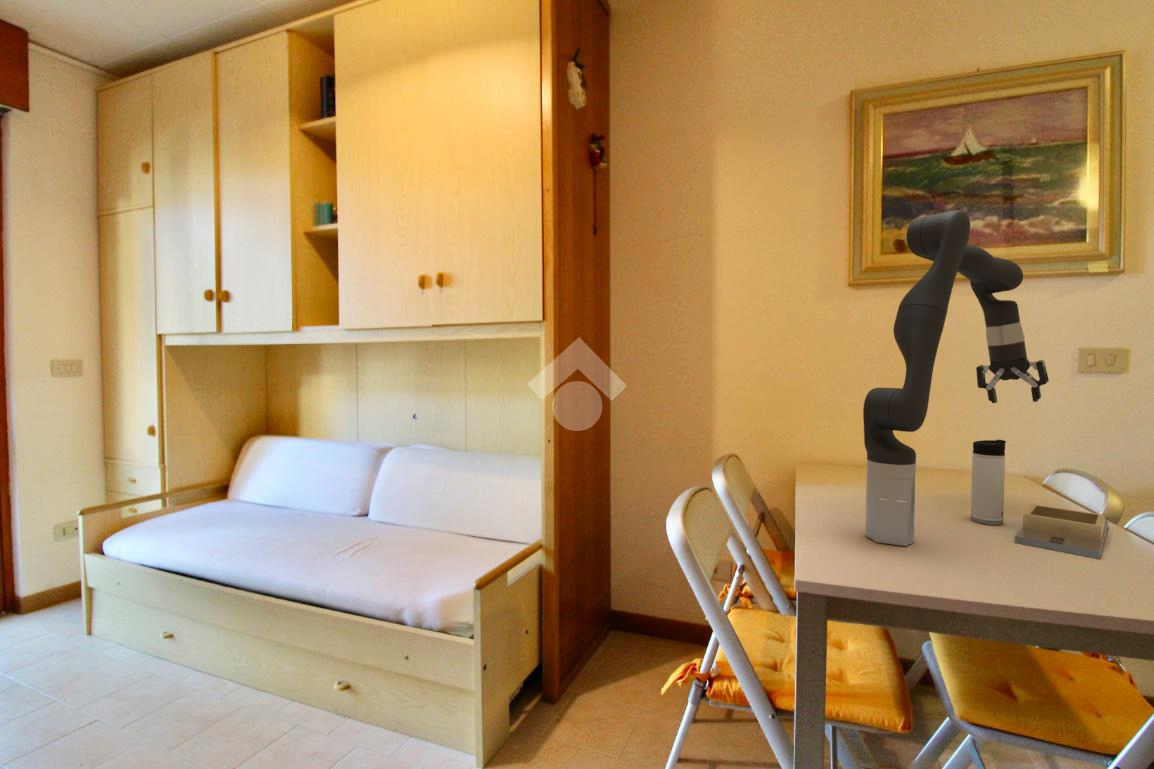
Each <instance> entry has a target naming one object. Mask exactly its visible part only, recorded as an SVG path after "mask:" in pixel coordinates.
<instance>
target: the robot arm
mask: <svg viewBox="0 0 1154 769" xmlns="http://www.w3.org/2000/svg"><path fill="white" fill-rule="evenodd" d="M906 230H907V231H906V235H905V237H906V239H905V240H906V244H907V248H908V249H909V251H910V252H911V253H912V254H913V255H915V256H916V257H919V258H921V259H925V260H928V261H931V262H932V264H931V266H930V267H929V268H928V270H927V272H925V274H924V275H923V276H922V277H921V278H920V279H919V281H917V282H916V283H915V284H914V285H913V287H911V289H910V290H908V292H907V293H906V294H905V295H904V297H903V298H902V299H901V301H900V303H899V305H898V308H897V311H896V312H897V313H896V316H895V320H894V323H893V336H894V340H895V342H896V345H897V346H898V347H897V348H898V349H899V351H900V353H901V355H902V357H903V359H904V363H905V369H906V370H905V378H904V383H903V386H902V387H874V388H872V389H871V390H869V391H868V392H867V394H866V395H865V399H864V401H863V409H862V410H863V411H862V414H863V418H862V419H863V442H864V448H865V450H866V483H865V487H866V488H865V489H866V492H865V494H866V495H865V536H866V537H867V538H868V539H870V540H872V541H873V542H874V543H881V544H887V545H895V546H903V547H908V546H909V545H913V543H915V512H916V510H915V509H916V508H915V507H916V506H915V505H916V504H915V503H916V469H917V468H916V465H917V464H916V463H917V454H916V451H915V449H914V448H912V447H911V446H909V445H907V444H905V443H903V442H901V441H900V440H899V439H898V438H897V437H896V435H895V434H894V431H895V432H896V431H897V432H907V433H914V432H916V431H918V430H920V428H921V427H922V426H923V423H924V422H925V420H926V416H927V414H928V409H929V401H930V395H931V394H930V393H931V388H932V387H931V386H932V380H933V372H934V367H935V366H934V365H935V363H936V358H937V357H936V356H937V353H938V349H939V346H940V341H941V337H942V334H943V332H944V331H943V330H944V327H945V323H946V318H947V314H948V310H949V304H950V299H951V295H952V292H953V288H954V284H955V280H956V277H957V274H958V273H959V274H960V275H961V276H964V278H966V279H967V280H969V284H970V288H971V290H972V292H973V294H974V296H975V297H976V300H978V303H979V305H980V307H981V309H982V313H983V317H984V323H985V334H986V335H985V337H986V344H987V349H988V350H987V352H988V356H989V362H990V364H989V365H983V364H979V365H978V366H977V367H976V368H975V369H976V372H975V373H976V381H977V382H976V383H977V387H978V388H979V389H985V390H986V392H987V398H988V401H989V402H991V404H997V403H998V398H997V397H998V396H997V391H996V388H995V386H996V385H997V383H998V382H999V381H1000V380H1001V381H1010V380H1015V381H1016V380H1019V379H1021V380H1022V381H1023V382H1026V383H1027V384H1028V385H1030V386H1031V387H1030V389H1031V390H1030V391H1031V398H1032V402H1033V403H1037V402H1039V400H1040V399H1041V397H1042V393H1041V386H1044V385H1046V384H1048V383H1049V381H1050V380H1049V376H1048V370H1047V367H1046V362H1045V360H1044V359H1039V360H1037V361H1035V360H1034V361H1029V359H1028V355H1027V349H1026V343H1025V334H1024V330H1023V327H1022V323H1021V319H1020V312H1019V305H1018V303H1017V301H1015V300H1010V299H1009V300H1007V299H1003V300H1002V299H998V298H997V297H995V296H994V295H993V294H997V293H998V294H999V293H1002V292H1003V293H1004V292H1009V291H1012V290H1015V289H1017V288H1019V286H1021V284H1022V282H1023V280H1024V272H1023V270H1022V268H1021V267H1020V265H1018V264H1017V263H1016V262H1014V261H1011V260H1009V259H1005V258H1002V257H996V256H993V255H992V253H990V252H988V251H986V250H985V249H984V248H982V247H980V246H976V245H974V244H973V245H972V244H968V243H969V240H970V236H971V235H970V233H971V221H970V217H969V215H968V213H967V212H966V211H963V210H960V209H957V210H948V211H944V212H941V213H935V214H931V215H930V214H929V215H925V216H921V217H919V218H916V219H915V220H913V221H912V222H910V223H909V225H908V227H907V229H906ZM1031 367H1032V368H1033V369H1034V370H1035V371H1037V374H1038V378H1039V380H1037V378H1035V377H1034V376H1033V375H1032V374H1031V373H1030V372H1029V369H1030V368H1031ZM988 370H989V371H990V372H991V373H992V374H993V375H994V376H993V377H992V378H991V379H990V381H989V382H986V374H987V373H988Z"/></svg>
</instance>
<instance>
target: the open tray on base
mask: <svg viewBox="0 0 1154 769" xmlns="http://www.w3.org/2000/svg"><path fill="white" fill-rule="evenodd" d="M1022 515H1023V519H1022V520H1023V521H1022V526H1021V527H1020V528H1019V530H1018V531H1017V532H1016V534H1015V535H1014V544H1020V545H1025V546H1031V547H1035V548H1040V547H1041V548H1040V549H1045V548H1047V549H1046V550H1050V549H1053V550H1052V551H1055V550H1058V551H1057V552H1060V551H1063V552H1062V553H1066V552H1067V554H1071V553H1073V554H1072V555H1076V554H1077V556H1081V555H1082V557H1086V556H1088V558H1091V557H1093V559H1097V558H1099V559H1098V560H1100V558H1101V556H1100V555H1102V552H1101V551H1102V550H1103V548H1102V547H1103V546H1104V544H1103V543H1105V540H1106V536H1107V532H1108V529H1107V528H1109V520H1108V519H1107V520H1106V514H1101V513H1095V512H1094V513H1093V512H1088V511H1083V510H1082V511H1081V510H1074V509H1067V508H1060V507H1055V506H1048V505H1042V504H1041V505H1040V504H1034V503H1031V504H1030V506H1029V507H1028V508H1027V510H1026V511H1025V512H1024V513H1023V514H1022ZM1104 539H1105V540H1104Z"/></svg>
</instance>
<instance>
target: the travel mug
mask: <svg viewBox="0 0 1154 769" xmlns="http://www.w3.org/2000/svg"><path fill="white" fill-rule="evenodd" d="M1006 443H1007V442H1006V440H1004V439H995V440H994V439H990V440H989V439H987V440H976V441H973V442H972V458H971V463H972V464H971V488H970V489H971V490H970V491H971V496H970V500H971V501H970V519H971V521H972V522H974V523H978V524H980V525H981V524H982V525H987V526H1002V525H1003V524H1004V512H1005V511H1004V509H1005V507H1004V506H1005V479H1006V478H1005V473H1006V471H1005V469H1006V452H1005V451H1006Z"/></svg>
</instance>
